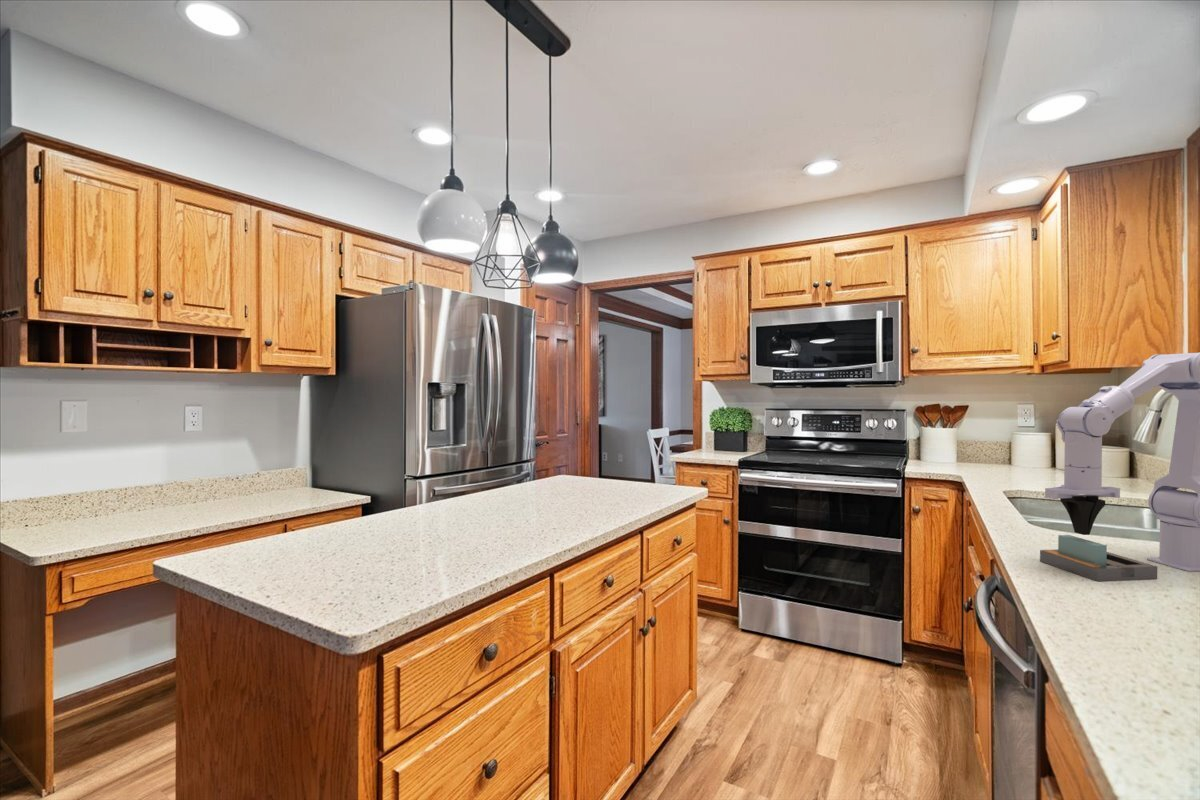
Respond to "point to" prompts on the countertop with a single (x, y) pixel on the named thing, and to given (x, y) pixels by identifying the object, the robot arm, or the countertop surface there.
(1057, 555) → the panel rack
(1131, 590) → the countertop surface
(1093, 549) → the panel
